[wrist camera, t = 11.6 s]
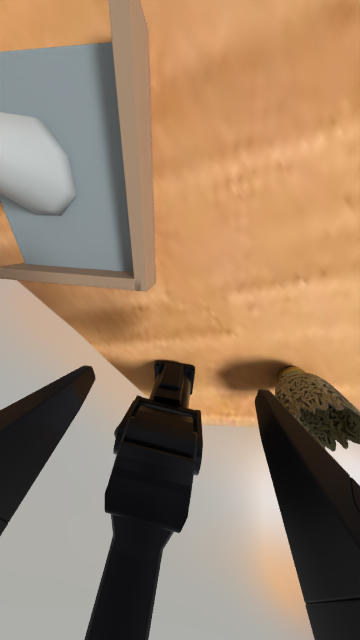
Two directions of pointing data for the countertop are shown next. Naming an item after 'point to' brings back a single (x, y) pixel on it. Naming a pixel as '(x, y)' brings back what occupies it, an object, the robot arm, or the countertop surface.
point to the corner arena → (90, 157)
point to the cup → (318, 407)
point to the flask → (34, 166)
